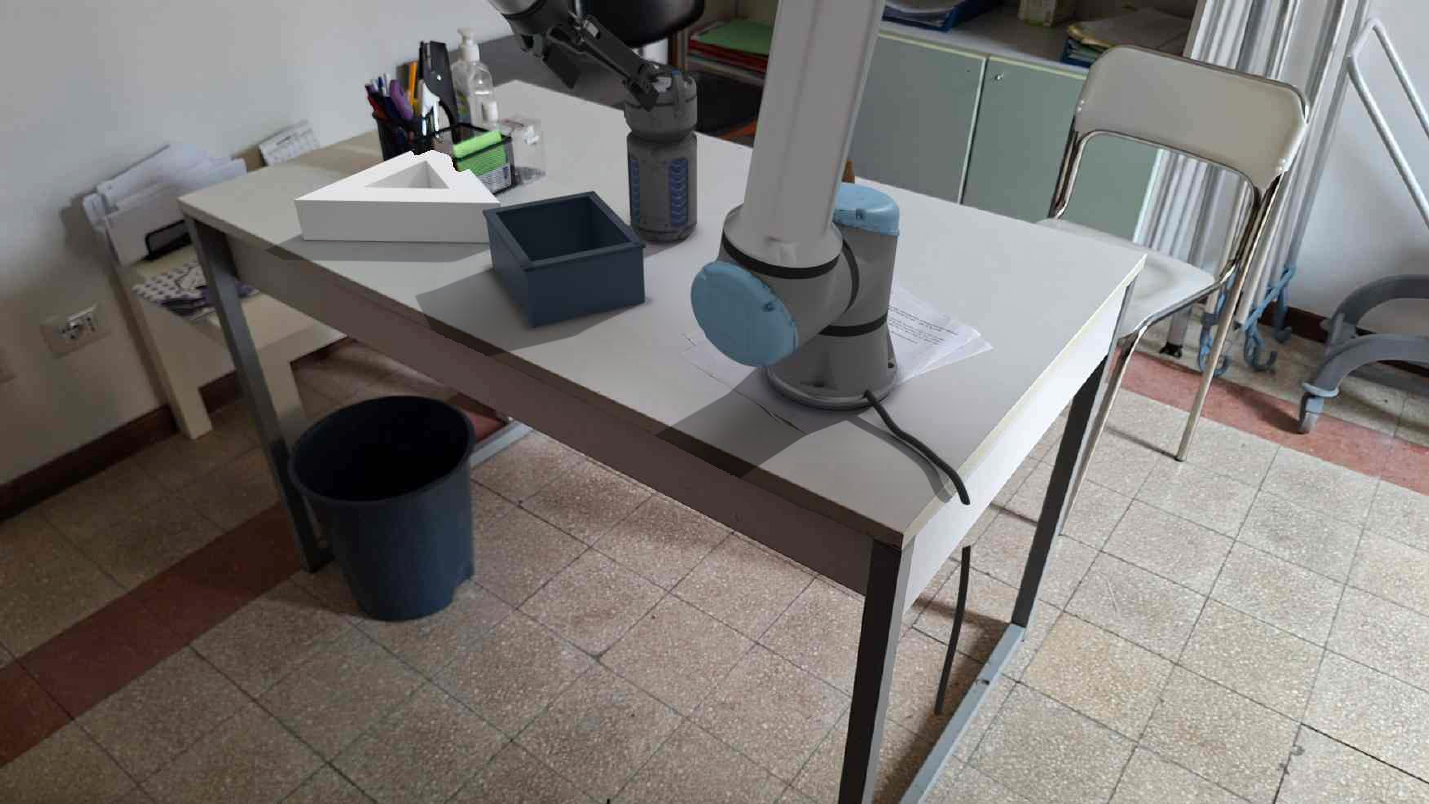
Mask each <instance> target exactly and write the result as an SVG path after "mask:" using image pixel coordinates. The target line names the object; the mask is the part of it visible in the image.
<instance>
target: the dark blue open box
mask: <svg viewBox="0 0 1429 804" xmlns="http://www.w3.org/2000/svg"><path fill="white" fill-rule="evenodd" d="M483 215H484V216H485V218H486V221H487V228H488V236H489V243H488V244H489V250H490V258H491V265H492V269H493V270H494V271H495V273H496V274H497V276H498V278H499V279H500V280H501V282H502V283H503V285H504V286H505V288H506V289H507V291H508V293H509V294H510V296H511V297H512V298H513V300H514V302H515V303H516V304H517V306H518V308H519V309H520V311H521V312H522V314H523V315H524V316H525V319H526V320H527V321H528V323H529V324H530V326H531V327H532V328H536V327H542V326H545V325H550V324H554V323H559V322H563V321H569V320H572V319H575V318H580V317H584V316H585V317H586V316H589V315H593V314H594V315H595V314H599V313H603V312H608V311H612V310H616V309H621V308H625V307H629V306H634V305H638V304H639V305H640V304H643V303H645V302H646V293H645V265H644V264H645V263H644V250H645V249H647V243H646V242H644V240H643V239H641V237H640V236H639V235H638V234H636V233H635V231H634V230H633V228H632V227H630V226H629V225H628V224H627V223H626V222H625V220H623V219H622V218H621V217H620V216H619V215H618V214H617V213H616V212H615V211H614V210H613V209H612V208H611V206H609V205H608V204H607V203H606V202H605V201H604V200H603V198H601V197H600V195H599V194H598V193H597V192H596V191H595V190H590V191H584V192H579V193H574V194H568V195H562V196H556V197H551V198H550V197H549V198H544V199H540V200H539V199H538V200H533V201H527V202H522V203H516V204H512V205H506V206H501V207H499V208H493V209H488V210H483Z"/></svg>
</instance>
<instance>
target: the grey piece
mask: <svg viewBox="0 0 1429 804" xmlns="http://www.w3.org/2000/svg"><path fill="white" fill-rule="evenodd" d="M641 58H642V59H644V60H645V61H646V62H647V63H648V64H649V65H650V68H649V69H648V71H647V73H646V75H645V76H646V77H647V79H648V80H649V81H650V82H651V84H652V85H653V86H654V87H655V89H656V90H657V91H658V92H659V94H660V95H659V96H658V98H657V100H656V102H655V104H654V106H653V108H652V110H651V112H648V111H646V110H645V109H644V108H643V107H642V106H641V105H640V103H639V102H638V101H637V100H636V99H635V98H634V96H633V95H632V94H631V93H630V92H629V91H628V89H626V88H625V90H624V95H625V97H624V103H623V118H624V119H625V123H626V124H627V126H628V128H629V129H630V131H629V132H628V133H627V135H626V156H627V158H626V159H627V179H628V180H627V181H628V182H627V183H628V204H629V224H630V226H631V229H632V230H633V232H634V233H635V234H636V235H637V236H638V237H640V238H643V239H646V240H650V241H657V242H669V241H676V240H679V239H684V238H686V237H688V236H689V235H691V234H692V233H693V232H694V231H695V228H696V227H697V225H698V135H697V134H696V132H695V131H694V130H693V129H694V127H695V125H697V121H698V94H697V84H696V81H695V79H694V78H693V77H691V76H688V75H687V79H688V82H687V81H684V77H683V73H682V71H680V70H673V71H670V77H667V76H666V77H664V76H663V75H664V74H666V71H663V70H661V69H659V68H656V66H655V64H654V63H653V62H652V61H650V60H648V59H646V58H644V57H641Z"/></svg>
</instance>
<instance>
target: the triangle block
mask: <svg viewBox="0 0 1429 804" xmlns="http://www.w3.org/2000/svg"><path fill="white" fill-rule="evenodd" d="M293 202H294V207H295V210H296V214H297V219H298V222H299V226H300V230H301V234H302V239H303V240H304V241H345V242H346V241H347V242H348V241H349V242H350V241H351V242H354V241H355V242H414V243H418V242H420V243H475V244H478V243H480V244H481V243H483V244H490V243H489V236H488V228H487V221H486V218H485V216H484V215H483V210H488V209H493V208H499V207H502V205H501V202H500V201H499V200H498V198H497V197H496V196H495V195H494V194H493V193H492V192H491V191H490V190H489V188H488V187H487V186H485V184H484V183H483V182H482V181H481V180H480V179H479V178H478V177H477V176H476V174H474V172H473V171H471V169H470V168H469V169H467V170H465V171H462V172H458V171H456V170H455V168H454V167H453V162H452V159H451V157H450V156H449V155H447V154H444V153H440V152H437V151H435V150H430V151H427V152H425V153H422V154H420V155H414V153H413V152H412V151H411V150H409V151H407V152H404V153H402V154H399V155H397V156H395V157H392V158H389V159H388V160H386V161H384V162H380V163H378V164H376V165H373V166H371V167H368V168H367V169H364V170H362V171H359V172H357V173H354V174H352V175H350V176H347V177H345V178H342V179H340V180H337V181H336V182H333V183H331V184H328V185H325V186H323V187H321V188H318V189H316V190H314V191H312V192H310V193H307V194H305V195H302V196H299V197H297V198H295V199H293Z"/></svg>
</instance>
